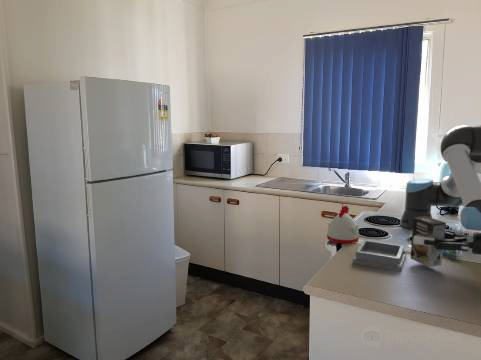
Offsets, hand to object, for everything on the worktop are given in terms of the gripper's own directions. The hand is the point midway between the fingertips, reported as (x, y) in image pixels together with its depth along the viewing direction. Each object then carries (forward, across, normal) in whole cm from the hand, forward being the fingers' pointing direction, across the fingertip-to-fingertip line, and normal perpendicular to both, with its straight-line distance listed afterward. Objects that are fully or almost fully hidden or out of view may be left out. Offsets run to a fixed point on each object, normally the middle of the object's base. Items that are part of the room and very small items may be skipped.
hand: (415, 235), depth 143 cm
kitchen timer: (+31, +19, -12) cm, 38 cm away
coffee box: (-4, 0, -10) cm, 11 cm away
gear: (-11, +19, -12) cm, 25 cm away
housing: (+12, 0, -12) cm, 17 cm away
